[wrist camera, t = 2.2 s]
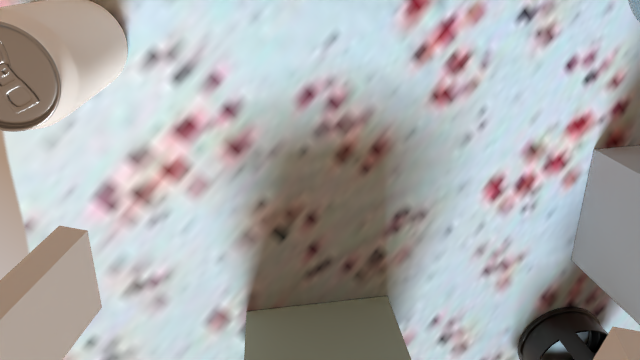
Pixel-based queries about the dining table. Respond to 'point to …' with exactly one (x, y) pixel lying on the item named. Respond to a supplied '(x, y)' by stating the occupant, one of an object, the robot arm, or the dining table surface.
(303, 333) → the sage green block
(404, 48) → the dining table surface
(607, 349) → the robot arm
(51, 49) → the can
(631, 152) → the stand
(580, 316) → the french press
